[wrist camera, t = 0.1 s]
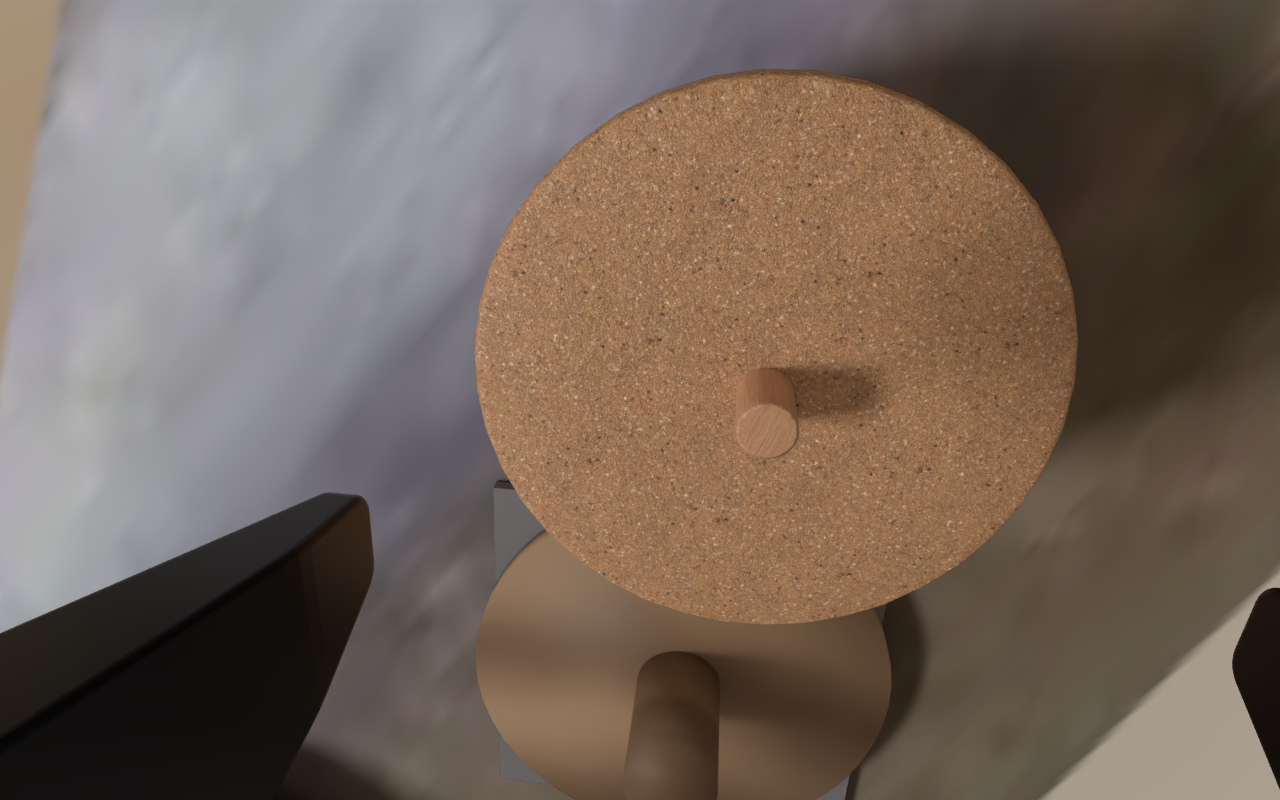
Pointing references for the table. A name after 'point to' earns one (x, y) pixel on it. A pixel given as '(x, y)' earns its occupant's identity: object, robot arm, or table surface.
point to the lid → (672, 690)
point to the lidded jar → (776, 347)
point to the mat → (510, 536)
